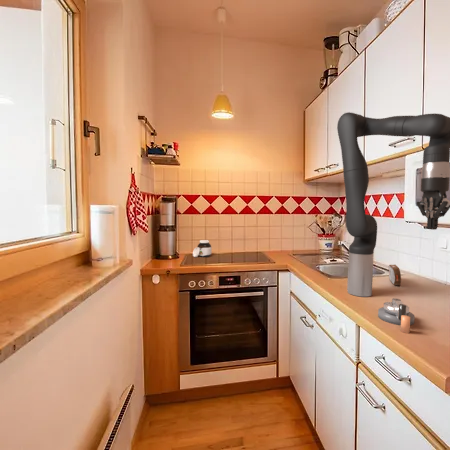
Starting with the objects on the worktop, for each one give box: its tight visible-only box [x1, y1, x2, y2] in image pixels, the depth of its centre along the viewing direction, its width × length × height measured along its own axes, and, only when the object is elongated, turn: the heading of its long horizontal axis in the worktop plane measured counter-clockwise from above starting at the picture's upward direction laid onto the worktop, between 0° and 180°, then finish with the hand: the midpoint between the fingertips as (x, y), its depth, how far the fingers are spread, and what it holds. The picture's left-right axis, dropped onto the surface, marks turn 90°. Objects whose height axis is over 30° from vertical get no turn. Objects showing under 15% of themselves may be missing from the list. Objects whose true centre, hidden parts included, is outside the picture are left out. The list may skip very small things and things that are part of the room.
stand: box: [377, 306, 415, 334], centre depth 87 cm, size 15×10×4 cm, turn 2°
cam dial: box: [383, 297, 410, 320], centre depth 87 cm, size 11×7×4 cm, turn 161°
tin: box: [388, 264, 402, 287], centre depth 131 cm, size 15×3×8 cm, turn 158°
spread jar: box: [192, 239, 213, 258], centre depth 199 cm, size 12×11×12 cm
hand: (432, 229), depth 92 cm, fingers closed
